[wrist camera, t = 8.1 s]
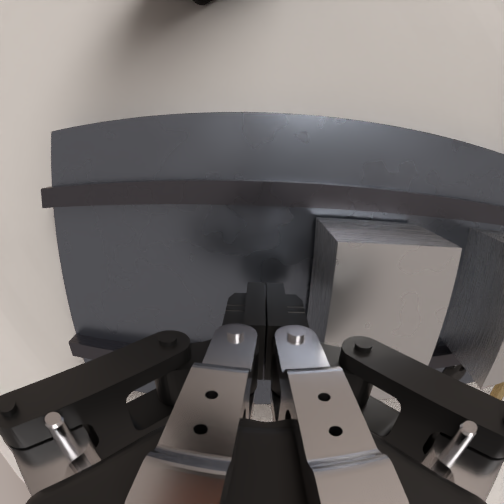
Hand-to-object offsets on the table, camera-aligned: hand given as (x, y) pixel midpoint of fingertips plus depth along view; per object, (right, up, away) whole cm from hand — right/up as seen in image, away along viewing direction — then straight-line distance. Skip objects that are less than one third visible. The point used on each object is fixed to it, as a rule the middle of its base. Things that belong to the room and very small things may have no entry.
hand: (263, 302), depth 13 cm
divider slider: (+5, -1, +2) cm, 5 cm away
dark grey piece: (+3, +1, +3) cm, 4 cm away
